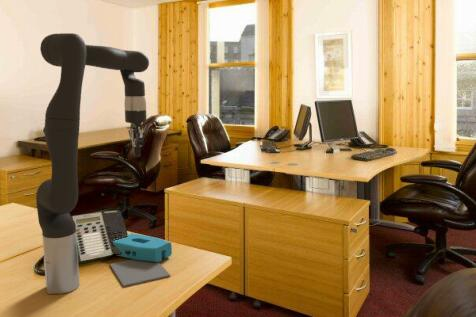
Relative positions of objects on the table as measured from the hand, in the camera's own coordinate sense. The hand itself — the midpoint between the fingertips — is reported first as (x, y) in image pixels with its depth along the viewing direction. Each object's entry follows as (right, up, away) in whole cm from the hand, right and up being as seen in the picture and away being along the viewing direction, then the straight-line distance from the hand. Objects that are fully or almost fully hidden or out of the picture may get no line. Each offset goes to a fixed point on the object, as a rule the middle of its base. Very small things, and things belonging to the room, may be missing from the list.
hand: (137, 156), depth 154 cm
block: (+11, -33, -7) cm, 36 cm away
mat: (+4, -38, -14) cm, 41 cm away
